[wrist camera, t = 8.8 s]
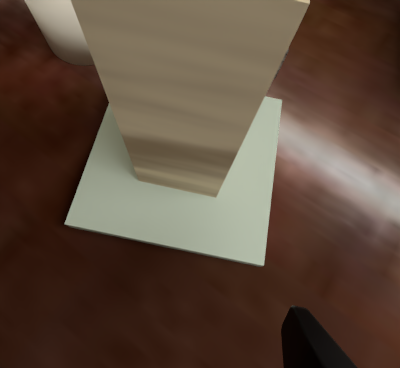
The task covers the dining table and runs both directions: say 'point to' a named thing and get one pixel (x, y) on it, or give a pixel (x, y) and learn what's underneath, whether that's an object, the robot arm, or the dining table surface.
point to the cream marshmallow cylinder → (61, 30)
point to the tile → (182, 197)
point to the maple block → (187, 78)
